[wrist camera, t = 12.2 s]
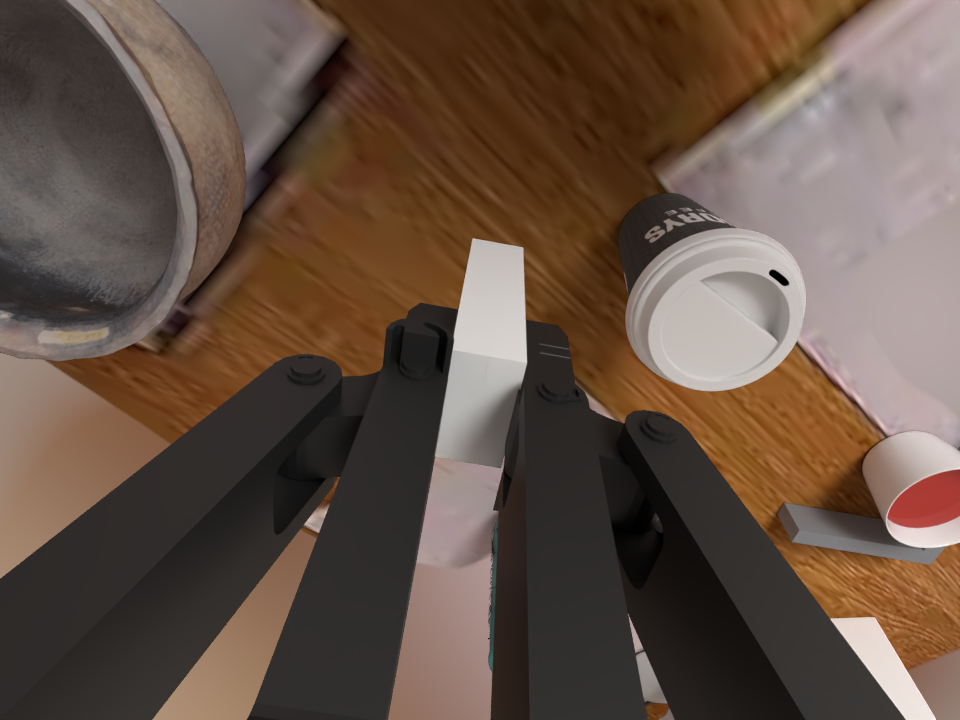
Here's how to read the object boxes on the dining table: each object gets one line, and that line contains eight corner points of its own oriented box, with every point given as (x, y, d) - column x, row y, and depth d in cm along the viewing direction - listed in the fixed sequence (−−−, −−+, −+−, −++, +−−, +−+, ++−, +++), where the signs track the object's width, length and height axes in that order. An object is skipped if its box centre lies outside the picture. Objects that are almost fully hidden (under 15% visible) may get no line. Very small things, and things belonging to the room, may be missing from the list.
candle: (908, 505, 55) (951, 558, 50) (827, 480, 54) (862, 531, 49) (979, 437, 51) (1035, 487, 45) (892, 407, 50) (938, 455, 44)
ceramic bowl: (-96, -33, 37) (-427, -63, 24) (220, -99, 34) (41, -172, 21) (76, 285, 48) (-87, 383, 35) (325, 254, 45) (248, 347, 32)
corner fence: (871, 361, 47) (895, 384, 44) (1026, 388, 48) (1060, 413, 45) (777, 514, 57) (791, 542, 54) (908, 536, 57) (930, 564, 54)
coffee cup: (746, 256, 43) (844, 356, 31) (630, 315, 46) (674, 428, 34) (698, 144, 40) (787, 204, 27) (575, 216, 43) (600, 301, 30)
